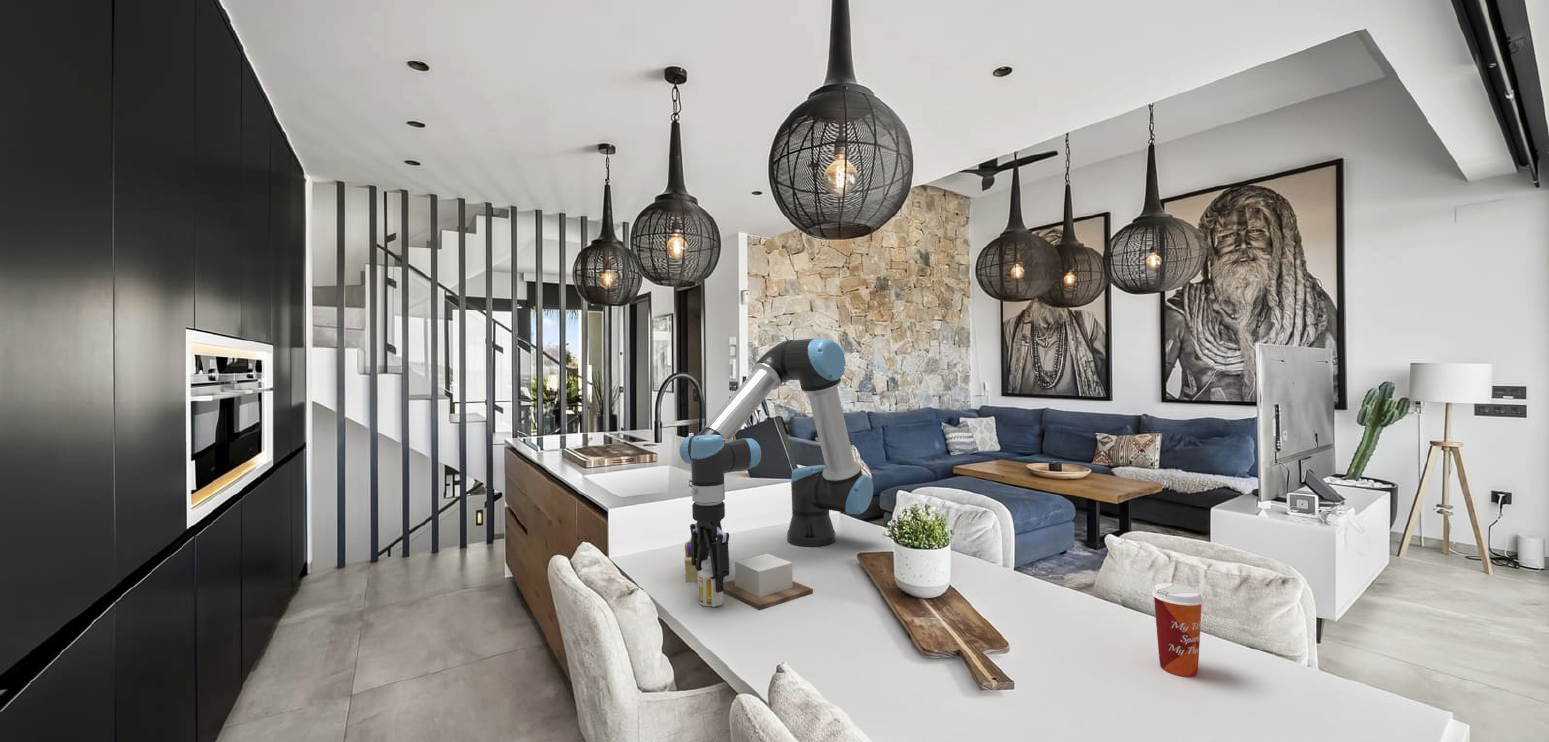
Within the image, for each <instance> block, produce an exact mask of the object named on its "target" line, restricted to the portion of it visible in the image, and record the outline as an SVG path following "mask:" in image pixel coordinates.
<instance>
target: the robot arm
mask: <svg viewBox="0 0 1549 742" xmlns="http://www.w3.org/2000/svg"><path fill="white" fill-rule="evenodd" d="M845 366H846V357H845V354H844V351H843V349H842V347H841V346H840V344H838V343H837V342H836V341H834V339H831V338H821V337H816V338H804V339H788V340H785V341H781V342H779V343H778V344H776V345H775V346H772V348H770V349H769V350H767V351H766V352H765V353H763V355H762V356H761V357H760V358H759V359H758V360H757V361H756V362H755V363H754V364H753V366H752V367H751V373H750V375H749V376H747V378H746V379H745V380H744V381H743V383H741V385H740V386H739V387H738V388H737V389H736V390H735V392H734V393H732V394H731V396H730V397H729V398H728V399H727V400H726V402H725V403H723V405H722V406H721V408H720V409H719V410H718V411H717V412H716V413H715V415H714V416H713V417H712V418H711V419H710V420H709V422H707V423H706V425H705V426H704V427H703V428H702V429H701V431H699V433H698V434H696V435H689V436H686V437H685V438H684V439H683V440H682V441H681V443H680V445H679V456H680V458H681V460H682V461H683V462H684V463H686V464H687V465H688V464H689V465H690V468H691V470H690V471H691V485H692V486H691V495H692V500H691V501H692V502H693V503H692V504H691V507H692V508H691V509H692V510H691V511H692V512H691V513H692V519H693V520H694V521H695V522H696V523H691V524H690V525H689V528H690V533H691V537H690V538H691V563H692V565H693V566H694V565H695V568H696V570H697V576H698V577H697V581H698V582H697V599H698V600H699V572H700V571H701V570H702V567H701V562H702V561H703V560H707V559H708V554H709V552H710V558H711V565H712V571H713V576H712V577H711V596H712V606H711V607H713V608H715V607H720V606H722V605H724V592H723V590H724V587H723V583H724V578H725V577H728V576H730V557H729V552H730V551H729V540H730V533H729V532H728V531H727V532H724V531H723V527H722V524H721V522H722V521H723V519H725V517H726V506H725V505H726V504H725V502H724V500H726V494H725V493H726V492H725V474H728V473H732V472H740V471H747V470H751V469H752V468H754V467H757V466H758V465H759V463H760V462H761V459H762V450H761V447H760V445H759V443H758V442H757V440H755V439H753V438H751V437H750V438H744V437H742V438H740V439H738V438H737V439H733V438H734V437H735V435H736V434H737V433H738V432H739V430H740V429H741V428H742V427H743V426H744V424H745V423H746V422H747V421H748V420H749V418H750V417H751V416H752V415H753V414H754V412H755V411H756V410H757V409H758V407H759V406H760V405H761V404H762V403H763V402H764V400H765V399H767V398H766V397H767V396H768V395H769V394H770V392H772V391H775V390H777V389H778V388H779V387H780V386H781V385H782V384H783V383H785V382H789V381H798V382H799V385H800V389H801V391H802V392H803V393H804V394H807V395H808V399H809V403H810V408H811V411H812V416H813V421H814V424H815V429H816V432H817V436H818V442H819V445H820V449H821V454H822V457H823V463H824V464H817V465H809V466H802V467H798V468H795V469H793V471H792V472H791V482H790V484H791V489H790V491H791V510H792V511H791V515H792V516H791V519H790V523H789V527H788V530H787V534H786V536H787V537H786V538H787V539H786V540H787V542H788V543H789V544H791V545H795V546H801V547H822V546H827V545H831V544H833V543H834V542H836V530H835V529H834V525H833V522H832V519H831V516H830V511H833V512H837V513H838V512H839V513H845V514H847V515H852V514H853V515H860V514H863V513H864V512H866V510H867V509H868V508H869V506H870V505H871V502H872V499H873V495H874V483H873V479H872V478H871V477H870V476H869V475H867V474H863V471H862V467H861V464H860V463H859V462H857V461H855V458H854V454H853V450H852V445H851V442H850V437H849V433H848V429H847V424H846V420H845V416H844V411H843V407H842V403H841V398H840V394H839V393H840V392H839V389H838V387H839V385H840V384H841V382H842V377H843V376H844V373H845V371H846V368H845ZM715 542H717V543H715ZM711 543H714V544H711Z"/></svg>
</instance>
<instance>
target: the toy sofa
mask: <svg viewBox="0 0 1549 742" xmlns="http://www.w3.org/2000/svg"><path fill="white" fill-rule="evenodd" d="M715 543H717V542H715ZM711 544H714V543H711ZM684 552H685V557H684V567H685V568H684V569H685V570H684V572H685V583H698V581H697V577H698V576H697V570H696V568H695V565H694V566H693V565H692V563H691V537H689V540H688V541H685V542H684ZM708 559H711V558H710V552H709V554H708Z"/></svg>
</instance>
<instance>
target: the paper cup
mask: <svg viewBox="0 0 1549 742" xmlns="http://www.w3.org/2000/svg"><path fill="white" fill-rule="evenodd" d="M1151 595H1152V596H1153V601H1154V602H1153V603H1154V612H1155V613H1154V614H1155V624H1156V634H1157V637H1156V639H1157V648H1158V657H1159V666H1160V669H1162V671H1165V672H1167V673H1169V674H1171V675H1173V676H1174V675H1175V676H1178V677H1185V678H1191V677H1196V676H1197V675H1198V673H1199V672H1198V671H1199V662H1200V661H1199V659H1200V643H1201V641H1200V638H1201V624H1202V623H1201V622H1202V604H1204V602H1205V601H1204V599H1203V597H1202V594H1201V592H1200V591H1199V590H1197V589H1196V588H1193V587H1192V586H1188V585H1184V584H1179V583H1173V582H1172V583H1171V582H1167V583H1165V582H1162V583H1158V584H1156V585H1155V586H1154V589H1153V590H1152V592H1151Z"/></svg>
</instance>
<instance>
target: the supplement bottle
mask: <svg viewBox="0 0 1549 742" xmlns="http://www.w3.org/2000/svg"><path fill="white" fill-rule="evenodd" d="M701 567H702V570H701V571H700V572H699V599H698V603H699V604H700V605H701V606H703V607H712V596H711V577H712V576H713V571H712V565H711V559H707V560H703V561H702V562H701Z"/></svg>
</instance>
